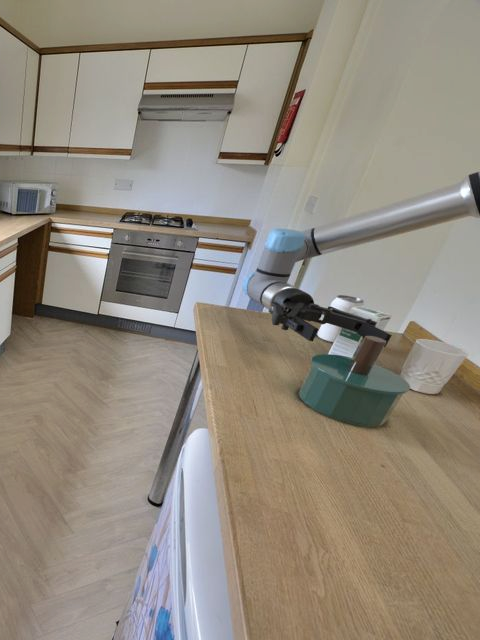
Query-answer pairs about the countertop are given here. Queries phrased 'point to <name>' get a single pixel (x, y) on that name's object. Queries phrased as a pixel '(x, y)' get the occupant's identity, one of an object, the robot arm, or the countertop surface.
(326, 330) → the can
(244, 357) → the countertop surface
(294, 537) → the countertop surface
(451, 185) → the robot arm
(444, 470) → the countertop surface
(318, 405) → the bowl
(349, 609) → the countertop surface
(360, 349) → the bowl lid
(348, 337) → the syrup box
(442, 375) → the white cup
